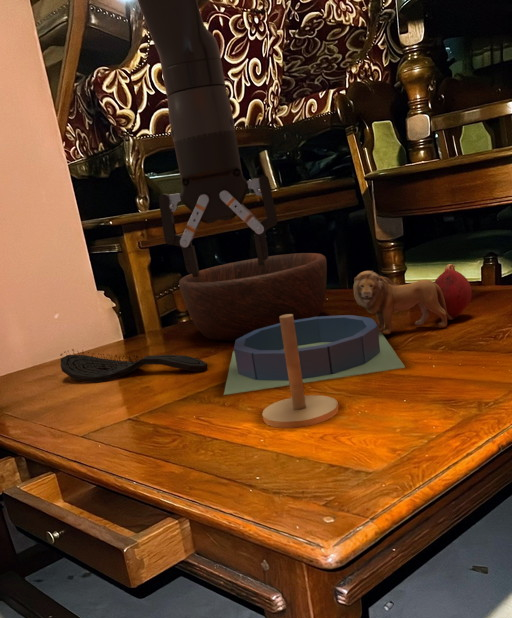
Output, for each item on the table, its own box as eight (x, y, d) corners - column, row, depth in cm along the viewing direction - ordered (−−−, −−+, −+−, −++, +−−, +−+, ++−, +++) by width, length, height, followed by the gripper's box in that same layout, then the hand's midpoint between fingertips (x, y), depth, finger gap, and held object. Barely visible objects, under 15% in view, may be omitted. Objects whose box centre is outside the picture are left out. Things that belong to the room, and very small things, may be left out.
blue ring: (368, 332, 101) (366, 308, 100) (388, 365, 84) (385, 337, 83) (242, 352, 103) (237, 329, 101) (235, 389, 85) (230, 361, 84)
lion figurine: (362, 340, 97) (358, 275, 93) (350, 333, 101) (346, 270, 98) (460, 325, 99) (461, 261, 95) (444, 319, 103) (444, 257, 100)
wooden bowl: (162, 341, 122) (149, 283, 118) (267, 307, 136) (259, 254, 132) (252, 352, 104) (241, 283, 100) (363, 312, 118) (357, 250, 114)
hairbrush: (189, 359, 94) (45, 358, 104) (193, 385, 95) (51, 381, 106) (217, 343, 101) (79, 343, 111) (220, 367, 102) (84, 366, 113)
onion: (467, 323, 99) (464, 266, 96) (427, 325, 102) (423, 270, 99) (476, 313, 104) (474, 259, 101) (438, 315, 107) (435, 262, 104)
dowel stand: (335, 401, 77) (323, 302, 73) (342, 425, 69) (329, 317, 65) (264, 411, 77) (248, 314, 73) (263, 437, 70) (245, 330, 66)
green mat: (379, 332, 103) (378, 328, 103) (405, 371, 82) (405, 367, 82) (233, 354, 105) (232, 351, 104) (224, 399, 84) (223, 394, 84)
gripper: (262, 124, 86) (283, 257, 92) (151, 146, 87) (178, 276, 93) (262, 119, 79) (284, 264, 85) (140, 143, 80) (170, 284, 86)
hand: (228, 270), depth 89 cm, fingers open, 8 cm apart
